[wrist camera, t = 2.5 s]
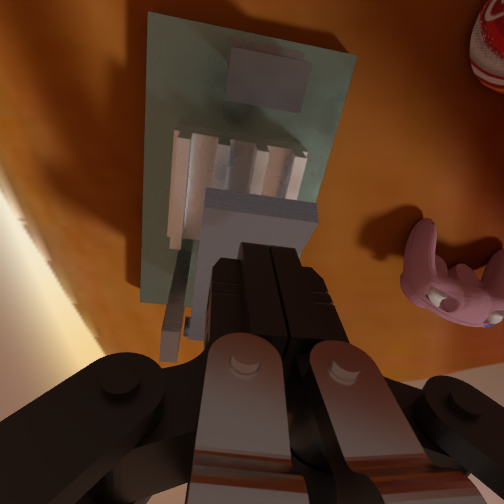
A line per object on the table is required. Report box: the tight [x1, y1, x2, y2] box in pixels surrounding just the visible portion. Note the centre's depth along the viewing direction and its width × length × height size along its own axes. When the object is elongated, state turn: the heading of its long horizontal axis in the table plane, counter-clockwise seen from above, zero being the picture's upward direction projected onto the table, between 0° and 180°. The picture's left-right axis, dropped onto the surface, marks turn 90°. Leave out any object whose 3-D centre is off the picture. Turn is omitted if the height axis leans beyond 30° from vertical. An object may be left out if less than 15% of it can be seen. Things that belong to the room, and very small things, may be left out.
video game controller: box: [400, 218, 504, 327], centre depth 29 cm, size 10×5×7 cm, turn 68°
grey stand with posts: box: [140, 11, 358, 363], centre depth 22 cm, size 12×20×10 cm, turn 170°
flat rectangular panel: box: [183, 187, 318, 341], centre depth 17 cm, size 4×14×1 cm, turn 170°
